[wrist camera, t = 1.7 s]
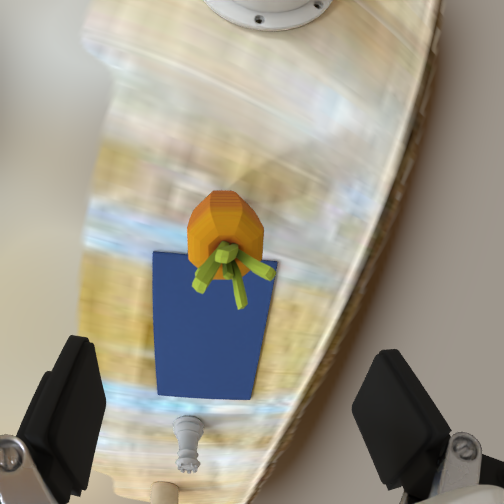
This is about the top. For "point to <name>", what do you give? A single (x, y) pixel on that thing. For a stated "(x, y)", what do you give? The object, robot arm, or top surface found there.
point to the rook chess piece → (188, 442)
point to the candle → (164, 493)
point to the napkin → (206, 331)
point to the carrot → (226, 243)
